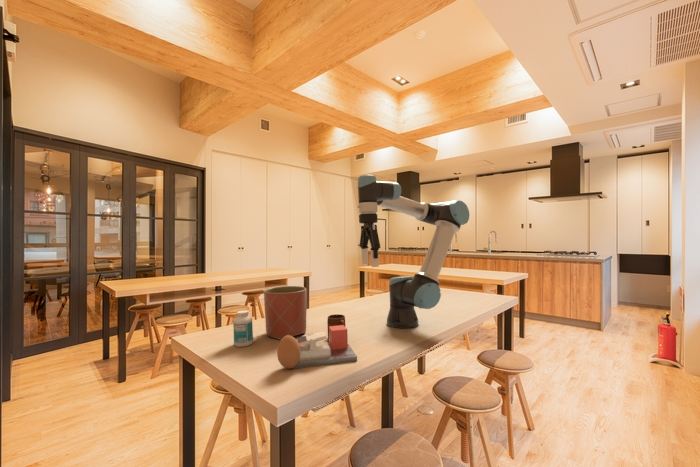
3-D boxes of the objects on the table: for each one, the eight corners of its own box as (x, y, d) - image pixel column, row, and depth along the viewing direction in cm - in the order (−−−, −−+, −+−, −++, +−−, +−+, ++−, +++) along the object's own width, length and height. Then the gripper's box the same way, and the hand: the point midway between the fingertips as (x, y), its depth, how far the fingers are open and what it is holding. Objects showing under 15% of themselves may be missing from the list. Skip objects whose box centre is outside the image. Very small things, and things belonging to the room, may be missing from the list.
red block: (344, 342, 125) (343, 324, 125) (347, 347, 119) (347, 329, 119) (329, 344, 124) (328, 326, 124) (332, 349, 118) (331, 330, 118)
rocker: (324, 334, 117) (323, 330, 117) (326, 339, 111) (326, 335, 111) (297, 341, 114) (296, 337, 114) (298, 346, 109) (297, 342, 109)
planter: (277, 343, 130) (276, 295, 131) (257, 333, 145) (256, 289, 145) (315, 333, 143) (314, 289, 143) (293, 325, 157) (292, 284, 157)
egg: (300, 371, 102) (298, 338, 102) (277, 374, 102) (274, 341, 101) (302, 361, 110) (299, 330, 109) (280, 363, 109) (277, 332, 109)
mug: (353, 342, 129) (352, 319, 129) (336, 345, 126) (335, 322, 126) (341, 334, 140) (340, 313, 140) (325, 337, 137) (324, 315, 137)
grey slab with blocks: (346, 345, 126) (346, 325, 126) (357, 360, 111) (356, 337, 111) (290, 351, 121) (289, 330, 121) (293, 368, 105) (292, 344, 105)
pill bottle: (247, 340, 136) (247, 308, 136) (256, 344, 130) (255, 311, 130) (230, 344, 130) (230, 311, 131) (238, 348, 125) (238, 314, 125)
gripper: (351, 215, 141) (353, 263, 141) (368, 211, 117) (370, 268, 117) (367, 215, 143) (369, 262, 143) (387, 210, 119) (389, 267, 119)
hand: (369, 265), depth 130 cm, fingers open, 13 cm apart
